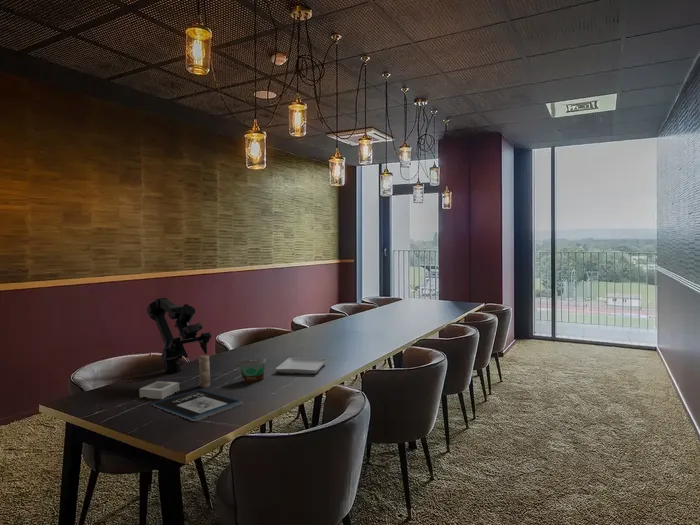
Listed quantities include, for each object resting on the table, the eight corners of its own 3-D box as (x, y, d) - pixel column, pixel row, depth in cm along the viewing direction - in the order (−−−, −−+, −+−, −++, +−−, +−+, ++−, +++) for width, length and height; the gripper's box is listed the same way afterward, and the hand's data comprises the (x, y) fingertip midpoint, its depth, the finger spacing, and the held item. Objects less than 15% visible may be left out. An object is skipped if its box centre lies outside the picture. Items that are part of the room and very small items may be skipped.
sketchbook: (199, 392, 198) (199, 387, 198) (244, 406, 179) (244, 400, 179) (151, 406, 181) (151, 401, 181) (195, 423, 162) (195, 417, 162)
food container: (239, 385, 204) (239, 362, 203) (239, 381, 210) (238, 359, 209) (268, 382, 207) (267, 360, 207) (266, 378, 213) (266, 357, 213)
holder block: (139, 397, 191) (139, 388, 191) (157, 388, 201) (157, 380, 201) (162, 399, 188) (161, 390, 187) (179, 390, 198) (179, 382, 198)
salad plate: (317, 376, 215) (317, 369, 215) (274, 375, 219) (274, 368, 219) (328, 364, 236) (328, 358, 236) (289, 363, 240) (289, 357, 240)
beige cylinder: (197, 386, 203) (196, 357, 202) (203, 383, 207) (202, 355, 206) (206, 387, 201) (205, 358, 201) (212, 384, 206) (211, 355, 205)
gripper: (169, 320, 205) (182, 348, 198) (208, 315, 218) (221, 341, 211) (163, 335, 211) (174, 363, 204) (201, 329, 224) (213, 355, 217)
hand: (196, 355), depth 208 cm, fingers open, 9 cm apart
